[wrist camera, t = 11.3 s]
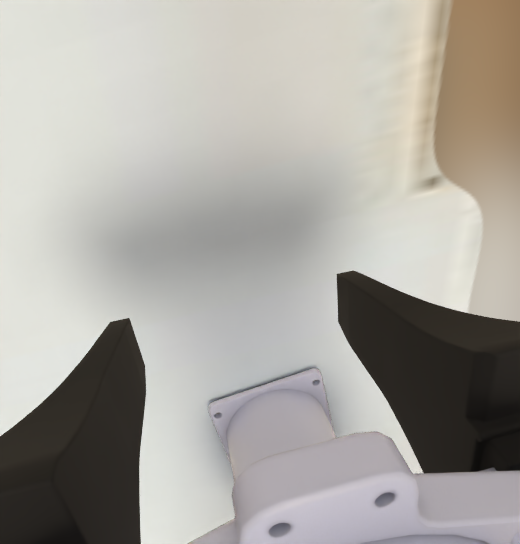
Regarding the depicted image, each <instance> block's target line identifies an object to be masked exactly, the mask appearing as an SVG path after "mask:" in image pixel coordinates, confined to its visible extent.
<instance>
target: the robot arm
mask: <svg viewBox="0 0 520 544" xmlns="http://www.w3.org/2000/svg"><path fill="white" fill-rule="evenodd" d="M337 294H338V322H339V324H340V326H341V328H342V330H343V333H344V335H345V337H346V339H347V341H348V343H349V344H350V346H351V347H352V349H353V351H354V352H355V353H356V355H357V356H358V358H359V359H360V361H361V362H362V364H363V365H364V367H365V368H366V370H367V371H368V372H369V374H370V375H371V377H372V378H373V380H374V381H375V383H376V384H377V386H378V387H379V388H380V390H381V391H382V393H383V395H384V396H385V398H386V399H387V401H388V403H389V405H390V407H391V409H392V410H393V412H394V414H395V416H396V418H397V420H398V422H399V423H400V425H401V427H402V429H403V431H404V433H405V435H406V437H407V439H408V441H409V443H410V445H411V447H412V449H413V451H414V453H415V456H416V458H417V460H418V462H419V464H420V466H421V468H422V470H423V472H424V473H423V474H413V473H412V472H411V470H410V468H409V467H408V465H407V463H406V462H405V460H404V458H403V457H402V455H401V453H400V452H399V450H398V448H397V447H396V445H395V444H394V442H393V440H392V439H391V438H389V437H387V436H385V435H383V434H381V433H379V432H361V433H354V434H350V435H346V436H342V437H339V438H336V436H335V434H334V430H333V426H332V421H331V416H330V412H329V407H328V402H327V398H326V393H325V389H324V384H323V379H322V375H321V373H320V371H319V370H318V369H316V368H313V369H310V370H307V371H304V372H301V373H298V374H295V375H292V376H289V377H286V378H283V379H280V380H277V381H274V382H271V383H268V384H265V385H262V386H259V387H256V388H253V389H250V390H247V391H244V392H241V393H238V394H235V395H232V396H229V397H226V398H223V399H220V400H217V401H214V402H212V403H210V404H209V406H208V411H209V414H210V417H211V419H212V421H213V424H214V426H215V428H216V431H217V433H218V435H219V438H220V440H221V442H222V445H223V447H224V449H225V452H226V454H227V456H228V459H229V461H230V463H231V466H232V471H233V477H234V486H233V492H232V499H233V506H234V512H235V519H233V520H231V521H229V522H227V523H225V524H223V525H221V526H219V527H218V528H216V529H214V530H212V531H210V532H208V533H206V534H204V535H202V536H200V537H199V538H197V539H195V540H193V541H191V542H189V543H187V544H520V322H517V321H509V320H502V319H495V318H489V317H483V316H478V315H473V314H469V313H464V312H460V311H456V310H452V309H449V308H445V307H442V306H438V305H435V304H432V303H429V302H426V301H423V300H421V299H418V298H415V297H413V296H410V295H408V294H405V293H403V292H400V291H398V290H396V289H394V288H391V287H389V286H387V285H385V284H382V283H380V282H378V281H376V280H374V279H372V278H370V277H367V276H365V275H363V274H361V273H358V272H356V271H349V272H344V273H340V274H337ZM314 380H317V381H315V382H313V381H314ZM145 397H146V378H145V365H144V361H143V358H142V355H141V352H140V349H139V346H138V343H137V340H136V337H135V334H134V331H133V328H132V325H131V322H130V319H129V318H127V319H123V320H118V321H113V322H110V323H109V325H108V326H107V327H106V329H105V330H104V331H103V333H102V334H101V335H100V337H99V338H98V340H97V341H96V342H95V344H94V345H93V346H92V348H91V349H90V350H89V352H88V353H87V354H86V355H85V357H84V358H83V359H82V361H81V362H80V363H79V364H78V365H77V366H76V367H75V369H74V370H73V371H72V372H71V373H70V374H69V376H68V377H67V378H66V379H65V380H64V381H63V382H62V383H61V385H60V386H59V387H58V388H57V389H56V390H55V391H54V392H53V393H52V394H51V395H50V396H49V397H47V398H46V399H45V400H44V401H43V402H42V403H41V404H40V405H39V406H38V407H37V408H35V409H34V410H33V411H32V412H31V413H29V414H28V415H27V416H26V417H25V418H23V419H22V420H21V421H20V422H19V423H17V424H16V425H15V426H14V427H12V428H11V429H10V430H8V431H7V432H6V433H4V434H3V435H2V436H0V544H141V539H140V506H139V457H140V445H141V436H142V426H143V417H144V407H145ZM216 413H219V414H216Z"/></svg>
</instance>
